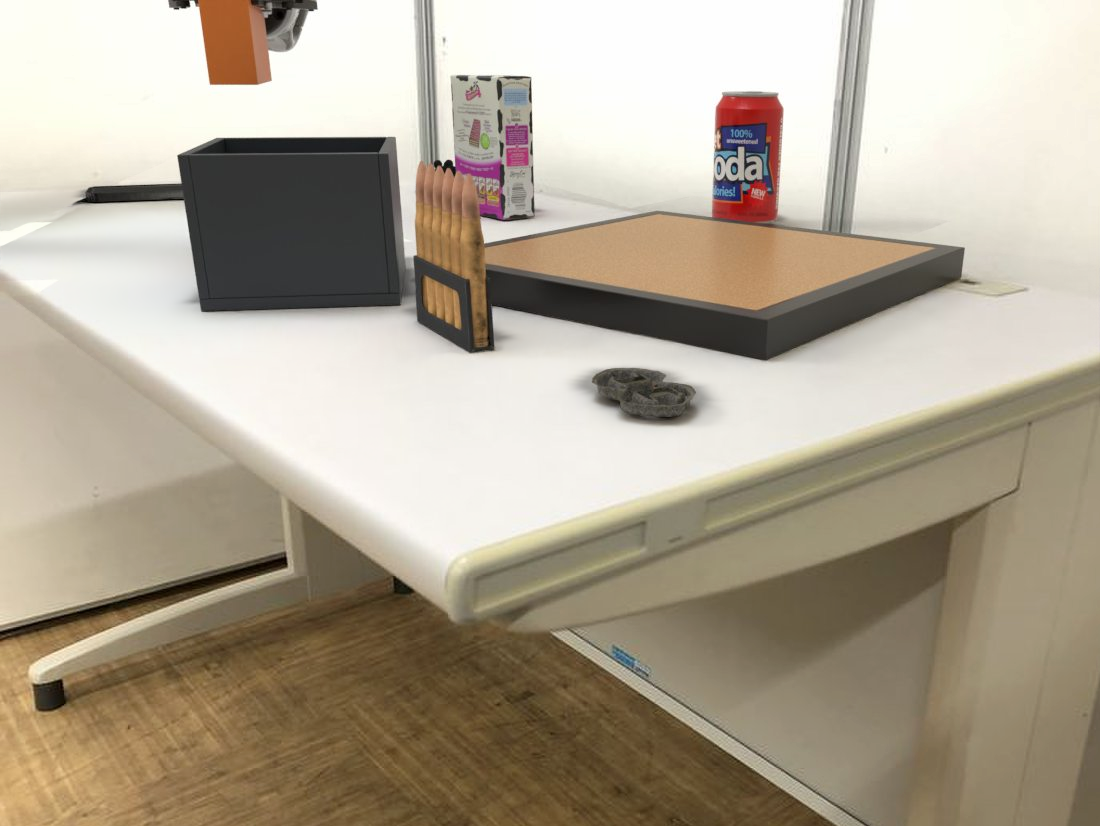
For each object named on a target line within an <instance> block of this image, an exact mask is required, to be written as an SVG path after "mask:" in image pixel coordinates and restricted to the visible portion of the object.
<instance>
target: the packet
mask: <svg viewBox="0 0 1100 826" xmlns="http://www.w3.org/2000/svg"><path fill="white" fill-rule="evenodd" d="M198 3H199V7H198V11H199V16H200V24H201V31H202V38H203V46H204V53H205V61H206V69H207V74H208V75H207V76H208V82H209V85H211V86H258V85H262V84H265V83H269V82H272V81H273V78H272V70H271V62H270V61H271V60H270V51H269V50H268V44H267V35H266V27H265V18H264V14H262V9H261V8H259V6H254V5H252V4H251V0H198Z"/></svg>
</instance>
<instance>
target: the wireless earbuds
mask: <svg viewBox="0 0 1100 826" xmlns="http://www.w3.org/2000/svg"><path fill="white" fill-rule="evenodd" d="M438 166H441V167H442V169H443V172H444V174H445V172H446V170H447V168H450V169H451V171H452V173H453V176H454V177H455V174H456V173H455V165H454V161H453V160H452V159H446V160H445V161H444V162H442V161H441V160H440V159H436V160H434V162H433V167H434V169H435V172H436V169H437V167H438Z"/></svg>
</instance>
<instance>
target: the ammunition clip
mask: <svg viewBox="0 0 1100 826" xmlns="http://www.w3.org/2000/svg"><path fill="white" fill-rule="evenodd" d="M435 169H436V168H435V167H434V164H432V163H431V162H429V163H428V165H427V167H426V163H425V162H424V161H423V160H420V161H419V163H418V165H417V171H416V175H415V176H416V177H415V216H414V231H415V248H416V249H415V250H416V255H413V257H412V258H413V273H414V289H415V306H416V321H417V322H418V323H419V324H421V325H422V326H425V327H426V328H428V329H429V330H431V331H432V332H434V333H436V334H438V335H439V336H441V337H442V338H444V339H446V340H447V341H449V342H451V343H452V344H454V345H455V346H458V347H459V348H461V349H462V350H464V351H466V352H467V353H469V354H473V353H480V352H488V351H494V350H495V334H494V319H493V318H494V317H493V305H492V300H491V284H490V277H488V276H486V267H485V248H484V243H485V239H484V234H483V230H482V220H481V215H480V212H479V201H478V195H477V190H476V187H475V183H474V180H473V178H472V176H471V174H470V173H468V174H467V175H466V178H465V181H464V178H463V176H462V174H461V172H460V171H457V172H456V174H455V177H454V176H453V173H452V171H451V169H450V168H447V170H446V172H445V174H444V172H443V169H442V167H441V166H438V167H437V169H436V172H435Z"/></svg>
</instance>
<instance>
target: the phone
mask: <svg viewBox="0 0 1100 826" xmlns="http://www.w3.org/2000/svg"><path fill="white" fill-rule="evenodd" d="M84 193H85V198H86V202H87V203H102V202H131V201H156V200H158V201H159V200H179V199H180V200H181V199H183V200H184V197H183V190H182V184H181V182H179V183H154V184H153V183H152V184H124V185H98V186H97V185H95V186H89V187H88V188H87V189H86V191H85V192H84Z"/></svg>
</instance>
